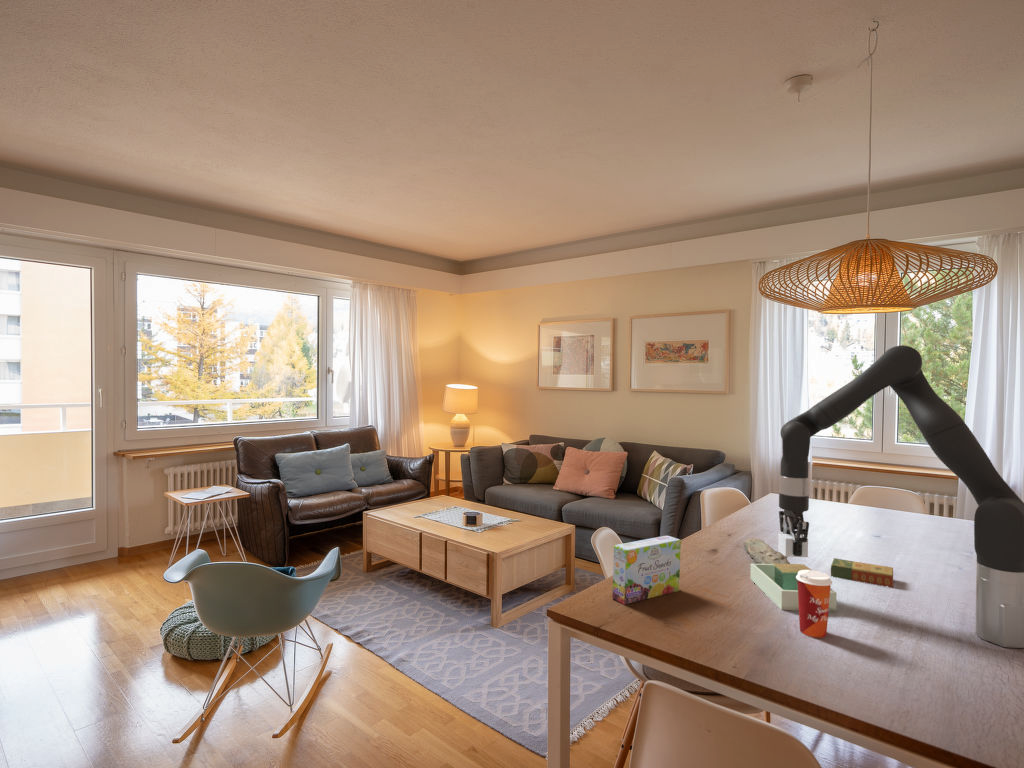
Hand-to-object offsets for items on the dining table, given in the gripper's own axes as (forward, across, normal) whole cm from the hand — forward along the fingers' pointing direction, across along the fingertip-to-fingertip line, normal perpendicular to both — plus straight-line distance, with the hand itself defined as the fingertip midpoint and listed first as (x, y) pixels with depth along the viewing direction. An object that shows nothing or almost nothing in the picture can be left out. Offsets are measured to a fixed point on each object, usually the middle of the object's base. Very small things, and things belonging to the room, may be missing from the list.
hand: (792, 552), depth 158 cm
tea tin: (+11, 0, 0) cm, 11 cm away
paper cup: (+12, -24, +6) cm, 28 cm away
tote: (+12, 0, 0) cm, 12 cm away
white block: (0, 0, 0) cm, 0 cm away
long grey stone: (+13, +31, -5) cm, 34 cm away
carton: (+13, +16, -28) cm, 34 cm away
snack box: (+12, -4, +41) cm, 43 cm away
